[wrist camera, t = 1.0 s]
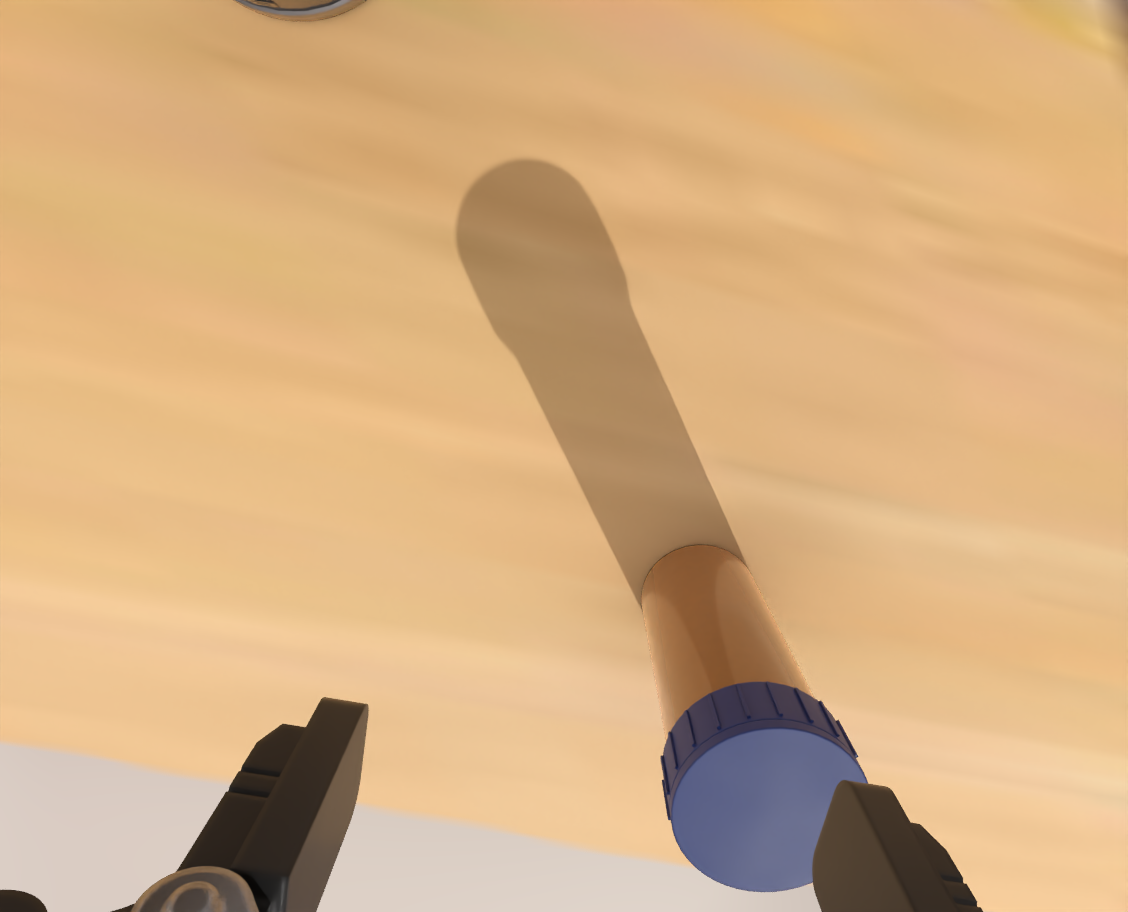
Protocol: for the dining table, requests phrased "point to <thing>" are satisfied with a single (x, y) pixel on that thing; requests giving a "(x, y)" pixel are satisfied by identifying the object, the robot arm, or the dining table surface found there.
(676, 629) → the jar
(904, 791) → the dining table surface
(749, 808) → the lid
